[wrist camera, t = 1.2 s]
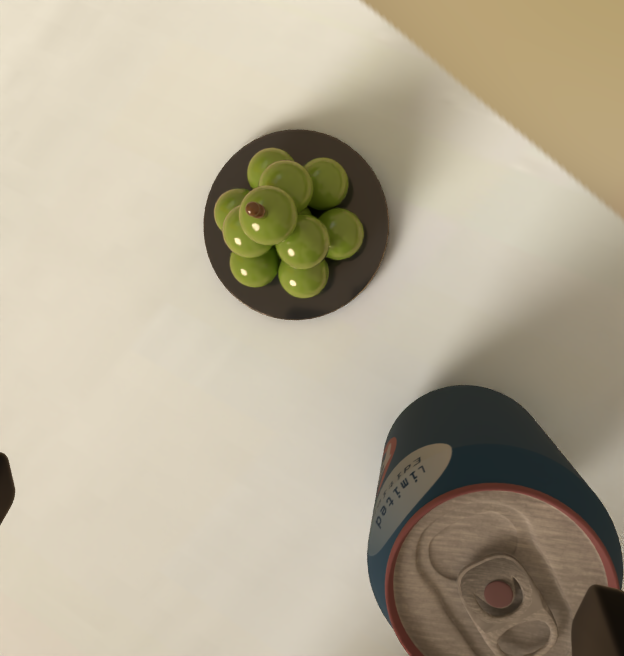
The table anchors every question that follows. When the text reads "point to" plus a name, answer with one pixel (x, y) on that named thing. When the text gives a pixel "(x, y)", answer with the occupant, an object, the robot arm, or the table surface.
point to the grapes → (296, 224)
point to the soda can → (483, 531)
